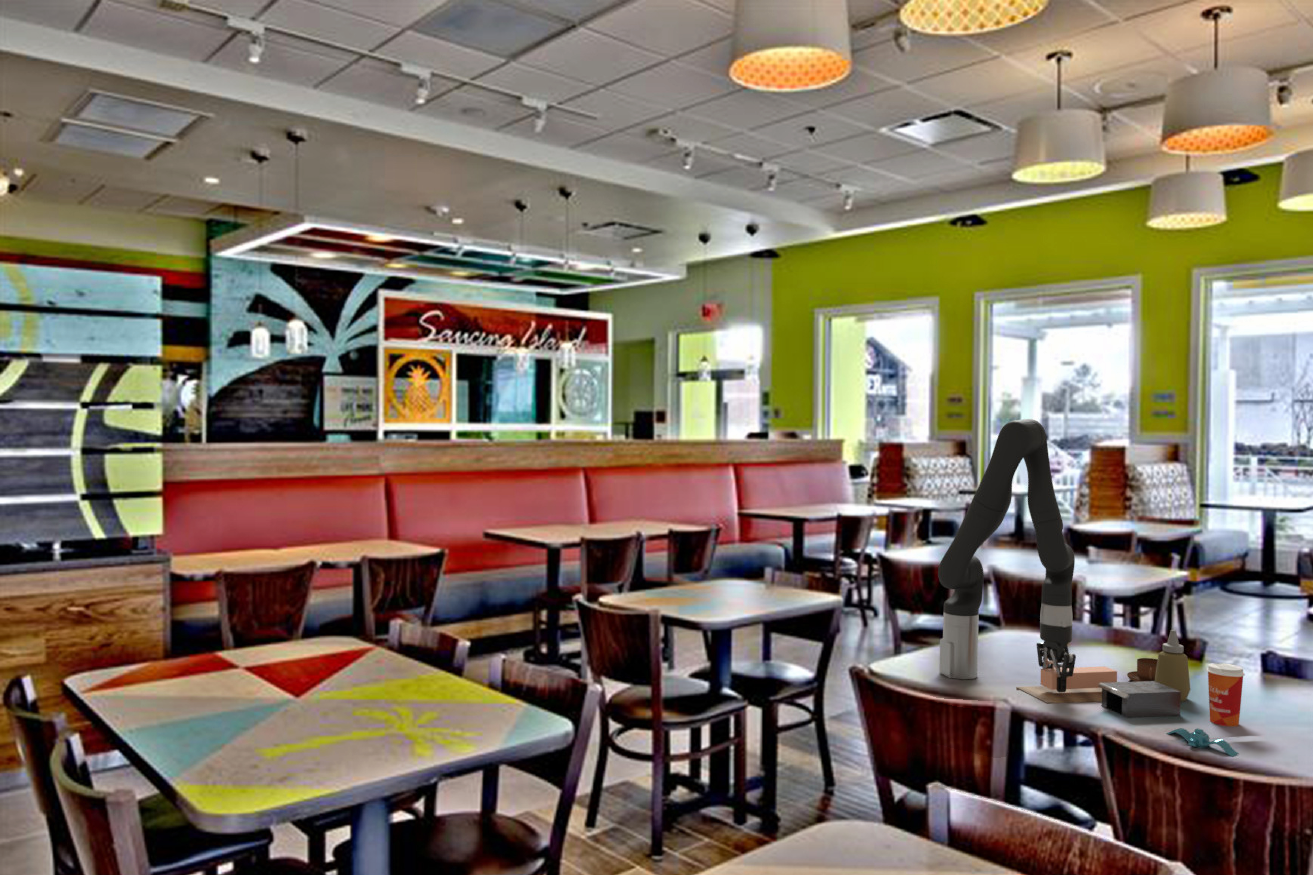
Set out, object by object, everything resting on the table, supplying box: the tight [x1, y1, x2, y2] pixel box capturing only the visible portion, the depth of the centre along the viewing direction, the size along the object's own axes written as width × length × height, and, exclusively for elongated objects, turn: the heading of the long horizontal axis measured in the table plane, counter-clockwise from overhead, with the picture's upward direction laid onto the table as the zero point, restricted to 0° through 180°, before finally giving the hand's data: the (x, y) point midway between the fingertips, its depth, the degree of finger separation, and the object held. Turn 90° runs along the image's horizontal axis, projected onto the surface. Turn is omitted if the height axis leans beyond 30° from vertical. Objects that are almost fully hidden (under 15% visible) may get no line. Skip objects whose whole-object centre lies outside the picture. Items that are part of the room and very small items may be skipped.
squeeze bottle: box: [1155, 629, 1191, 702], centre depth 241 cm, size 8×8×18 cm
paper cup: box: [1205, 662, 1246, 727], centre depth 221 cm, size 8×8×14 cm
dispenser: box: [1098, 681, 1182, 719], centre depth 230 cm, size 15×10×7 cm
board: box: [1015, 685, 1102, 704], centre depth 244 cm, size 26×14×1 cm, turn 100°
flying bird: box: [1165, 727, 1240, 757], centre depth 208 cm, size 15×7×4 cm, turn 35°
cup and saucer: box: [1126, 657, 1158, 682], centre depth 259 cm, size 12×12×6 cm
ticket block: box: [1040, 666, 1118, 690], centre depth 243 cm, size 18×5×4 cm, turn 99°
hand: (1054, 688), depth 242 cm, fingers closed on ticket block, 5 cm apart
